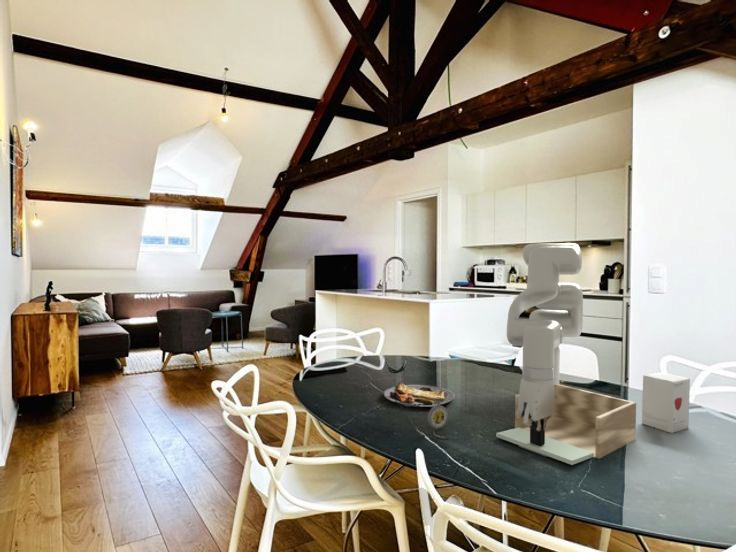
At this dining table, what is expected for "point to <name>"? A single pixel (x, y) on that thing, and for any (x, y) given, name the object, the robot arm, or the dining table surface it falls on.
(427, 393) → the food plate
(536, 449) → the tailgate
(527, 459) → the dining table surface
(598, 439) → the crate
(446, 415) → the pocket watch
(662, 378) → the supplement box
